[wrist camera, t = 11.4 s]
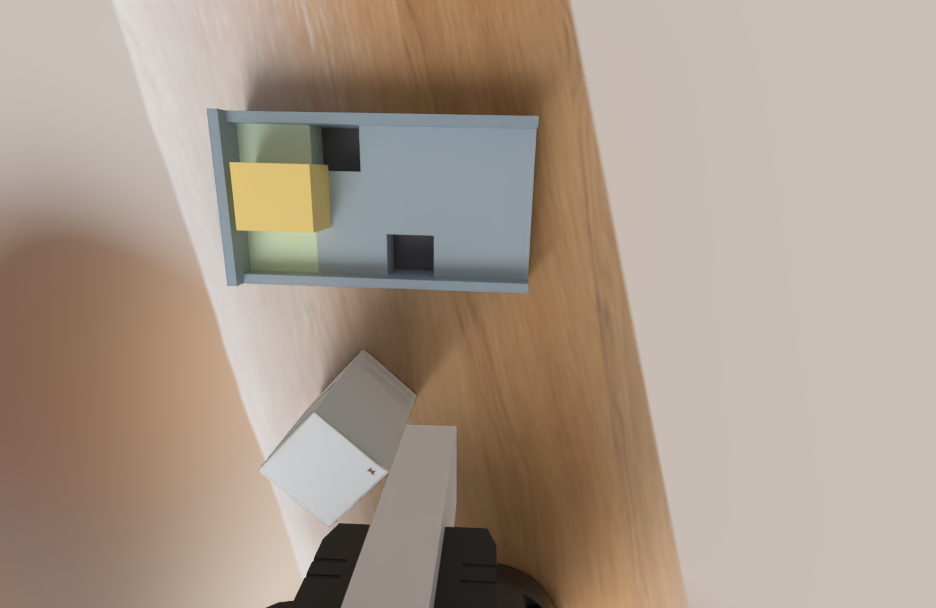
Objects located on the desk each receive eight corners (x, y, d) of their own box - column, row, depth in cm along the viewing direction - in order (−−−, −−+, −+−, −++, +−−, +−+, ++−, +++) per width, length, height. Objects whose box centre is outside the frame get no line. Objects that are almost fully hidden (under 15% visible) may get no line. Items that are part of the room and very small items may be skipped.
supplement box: (363, 345, 46) (315, 408, 33) (419, 395, 47) (392, 474, 34) (316, 394, 47) (253, 471, 35) (371, 441, 48) (329, 531, 36)
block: (331, 227, 40) (313, 232, 36) (261, 224, 40) (236, 230, 36) (328, 165, 38) (309, 164, 34) (255, 163, 38) (229, 162, 35)
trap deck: (525, 281, 43) (529, 296, 38) (259, 272, 44) (227, 285, 39) (534, 122, 39) (540, 114, 34) (244, 117, 40) (206, 108, 35)
